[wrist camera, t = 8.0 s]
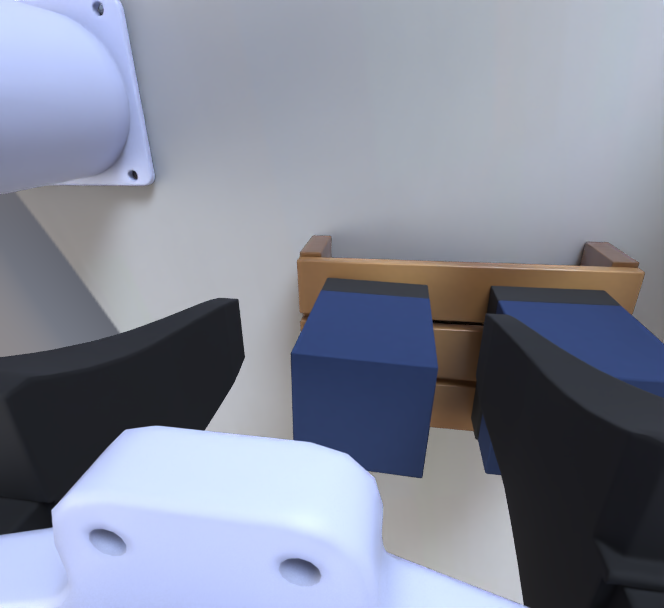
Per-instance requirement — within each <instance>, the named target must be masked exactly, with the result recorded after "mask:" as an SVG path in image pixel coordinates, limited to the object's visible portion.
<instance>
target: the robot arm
mask: <svg viewBox="0 0 664 608" xmlns="http://www.w3.org/2000/svg"><path fill="white" fill-rule="evenodd" d="M100 4H102V6H103V8H104V12H103V14H102V15H100V14H99V11H98V7H99V5H100ZM133 171H135V172H136V173H137V175H138V179H135V178H134V176H133ZM154 180H155V173H154V167H153V162H152V157H151V151H150V146H149V141H148V135H147V130H146V125H145V120H144V114H143V109H142V104H141V98H140V93H139V88H138V82H137V77H136V72H135V66H134V61H133V56H132V50H131V45H130V40H129V35H128V29H127V24H126V19H125V13H124V8H123V6H122V3H121V2H120V1H119V0H19V1H15V0H0V195H2V194H7V193H11V192H17V191H21V190H26V189H31V188H36V187H41V186H46V185H103V186H146V185H150V184H152V183H153V182H154ZM244 358H245V354H244V345H243V336H242V327H241V318H240V310H239V301H238V299H229V298H217V299H213V300H209V301H206V302H203V303H201V304H198V305H195V306H193V307H190V308H188V309H185V310H183V311H180V312H178V313H175V314H173V315H171V316H168V317H166V318H163V319H160V320H157V321H155V322H152V323H149V324H147V325H144V326H141V327H138V328H136V329H133V330H130V331H127V332H124V333H120V334H117V335H114V336H110V337H106V338H103V339H99V340H95V341H91V342H87V343H82V344H78V345H73V346H68V347H63V348H59V349H54V350H49V351H43V352H36V353H30V354H22V355H15V356H8V357H0V608H664V398H662V397H660V396H657V395H655V394H652V393H650V392H647V391H644V390H642V389H640V388H637V387H635V386H633V385H630V384H628V383H626V382H624V381H621V380H619V379H617V378H615V377H613V376H611V375H609V374H607V373H605V372H603V371H601V370H599V369H597V368H595V367H593V366H591V365H589V364H587V363H586V362H584V361H582V360H580V359H579V358H577V357H575V356H573V355H572V354H570V353H568V352H567V351H565V350H563V349H562V348H560V347H559V346H557V345H556V344H554V343H552V342H551V341H549V340H548V339H546V338H545V337H543V336H542V335H540V334H539V333H537V332H536V331H534V330H533V329H531V328H530V327H528V326H527V325H525V324H524V323H522V322H521V321H519V320H518V319H516V318H514V317H513V316H510V315H505V314H487V313H486V314H485V321H484V327H483V333H482V339H481V345H480V352H479V358H478V364H477V370H476V381H477V389H478V396H479V402H480V407H481V410H482V414H483V417H484V420H485V424H486V427H487V430H488V433H489V437H490V440H491V443H492V446H493V450H494V453H495V456H496V459H497V462H498V466H499V469H500V472H501V476H502V480H503V484H504V488H505V493H506V498H507V504H508V509H509V515H510V520H511V525H512V531H513V537H514V543H515V549H516V555H517V561H518V568H519V575H520V582H521V588H522V595H523V602H524V605H521V604H519V603H516V602H514V601H511V600H509V599H506V598H504V597H501V596H498V595H496V594H493V593H491V592H488V591H486V590H483V589H480V588H478V587H475V586H473V585H470V584H468V583H465V582H462V581H460V580H457V579H455V578H452V577H450V576H447V575H444V574H442V573H439V572H437V571H434V570H432V569H429V568H426V567H424V566H421V565H419V564H416V563H414V562H411V561H409V560H406V559H403V558H401V557H398V556H396V555H393V554H391V553H388V552H387V551H386V550H385V548H384V546H383V540H382V520H383V503H382V500H381V496H380V493H379V490H378V487H377V483H376V480H375V478H374V477H373V476H372V475H371V474H370V473H369V472H368V471H366V470H365V469H364V468H363V467H362V466H361V465H360V464H358V463H357V462H356V461H355V460H354V459H353V458H352V457H351V456H349V455H348V454H346V453H343V452H340V451H337V450H334V449H330V448H327V447H324V446H321V445H318V444H315V443H311V442H304V441H295V440H285V439H276V438H267V437H258V436H248V435H239V434H230V433H221V432H211V431H205V429H206V427H207V426H208V424H209V423H210V421H211V419H212V418H213V416H214V415H215V413H216V412H217V410H218V408H219V407H220V405H221V404H222V402H223V400H224V399H225V397H226V395H227V394H228V392H229V391H230V389H231V387H232V385H233V384H234V382H235V380H236V377H237V375H238V373H239V371H240V368H241V366H242V363H243V361H244Z"/></svg>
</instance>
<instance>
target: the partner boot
mask: <svg viewBox="0 0 664 608" xmlns="http://www.w3.org/2000/svg"><path fill="white" fill-rule="evenodd" d="M487 314H505V315H510V316H513V317H514V318H516V319H518V320H519V321H521V322H522V323H524V324H525V325H527V326H528V327H530V328H531V329H533V330H534V331H536V332H537V333H539V334H540V335H542V336H543V337H545V338H546V339H548V340H549V341H551V342H552V343H554V344H556V345H557V346H559V347H560V348H562V349H563V350H565V351H567V352H568V353H570V354H572V355H573V356H575V357H577V358H579V359H580V360H582V361H584V362H586V363H587V364H589V365H591V366H593V367H595V368H597V369H599V370H601V371H603V372H605V373H607V374H609V375H611V376H613V377H615V378H617V379H619V380H621V381H624V382H626V383H628V384H630V385H633V386H635V387H637V388H640V389H642V390H644V391H647V392H650V393H652V394H655V395H657V396H660V397H662V398H664V344H663V343H662V342H661V341H660V340H659V339H658V338H657V337H655V336H654V335H653V334H652V333H651V332H650V331H649V330H648V329H647V328H645V327H644V326H643V325H642V324H641V323H640V322H639V321H638V320H637V319H635V318H634V317H633V316H632V315H631V314H630V313H629V312H628V311H627V310H625V309H624V308H623V307H622V306H621V305H620V304H619V303H618V302H617V301H616V300H615V299H614V298H612V297H611V296H610V295H609V294H608V293H607V292H606V291H604V290H583V289H559V288H534V287H510V286H491V288H490V295H489V302H488V308H487ZM471 420H472V425H473V430H474V435H475V439H477V440H478V442H479V447H480V451H481V456H482V460H483V465H484V469H485V473H487V474H495V475H501V472H500V469H499V466H498V462H497V459H496V456H495V453H494V450H493V446H492V443H491V440H490V437H489V433H488V430H487V427H486V424H485V420H484V417H483V414H482V410H481V407H480V402H479V396H478V389H477V381H476V388H475V395H474V401H473V408H472V415H471Z"/></svg>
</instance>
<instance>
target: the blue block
mask: <svg viewBox="0 0 664 608" xmlns="http://www.w3.org/2000/svg"><path fill="white" fill-rule="evenodd" d="M437 374H438V362H437V354H436V346H435V338H434V330H433V322H432V314H431V306H430V299H429V291H428V285H421V284H408V283H394V282H381V281H367V280H354V279H340V278H327V279H326V281H325V284H324V286H323V288H322V290H321V291H320V293H319V296H318V298H317V300H316V302H315V304H314V306H313V308H312V310H311V312H310V314H309V316H308V318H307V321H306V323H305V325H304V327H303V329H302V331H301V333H300V335H299V337H298V339H297V341H296V344H295V346H294V348H293V350H292V352H291V377H292V410H293V440H295V441H304V442H311V443H315V444H318V445H321V446H324V447H327V448H330V449H334V450H337V451H340V452H343V453H346V454H348V455H349V456H351V457H352V458H353V459H354V460H355V461H356V462H357V463H358V464H360V465H361V466H362V467H363V468H364V469H365V470H366V471H372V472H379V473H387V474H394V475H401V476H409V477H416V478H422V476H423V469H424V463H425V456H426V449H427V442H428V435H429V428H430V422H431V415H432V408H433V401H434V394H435V387H436V381H437Z"/></svg>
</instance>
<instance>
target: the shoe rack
mask: <svg viewBox="0 0 664 608" xmlns="http://www.w3.org/2000/svg"><path fill="white" fill-rule="evenodd" d="M638 266H639V262H638V261H636V260H634V259H633V258H631V257H630V256H628V255H627V254H625V253H624V252H622V251H621V250H619V249H617V248H616V247H614V246H613V245H611V244H610V243H608V242H586V243H585V247H584V251H583V255H582V259H581V264H580V266H569V265H539V264H508V263H477V262H447V261H416V260H386V259H355V258H332V251H331V236H315V235H314V236H312V237H311V239H310V240H309V241H308V242H307V244H306V245H305V246H304V248H303V249H302V250H301V252H300V257H299V259H298V260H297V272H298V290H299V307H300V313H303V317H302V319H301V321H300V326H301V331H302V329H303V327H304V325H305V323H306V321H307V318H308V316H309V314H310V312H311V310H312V308H313V306H314V304H315V302H316V300H317V298H318V296H319V293H320V291H321V290H322V288H323V286H324V284H325V281H326V279H327V278H340V279H354V280H367V281H381V282H394V283H408V284H421V285H428V291H429V299H430V306H431V314H432V320H442V321H461V322H479V323H484V321H485V314H486V313H487V308H488V302H489V295H490V288H491V286H510V287H534V288H559V289H583V290H604V291H606V292H607V293H608V294H609V295H610V296H611V297H612V298H614V299H615V300H616V301H617V302H618V303H619V304H620V305H621V306H622V307H623V308H624V309H625V310H627V311H628V312H629V313H630V314H631V315H632V314H633V311H634V307H635V304H636V301H637V298H638V295H639V291H640V288H641V285H642V282H643V279H644V275H645V272H644V271H642V270H641V269H639V268H638ZM483 327H484V326H474V325H456V324H438V323H433V330H434V338H435V346H436V354H437V362H438V374H437V381H436V387H435V394H434V401H433V408H432V415H431V422H430V427H436V428H446V429H457V430H468V431H474V430H473V425H472V420H471V415H472V408H473V401H474V395H475V388H476V370H477V364H478V358H479V352H480V345H481V339H482V333H483Z"/></svg>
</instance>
